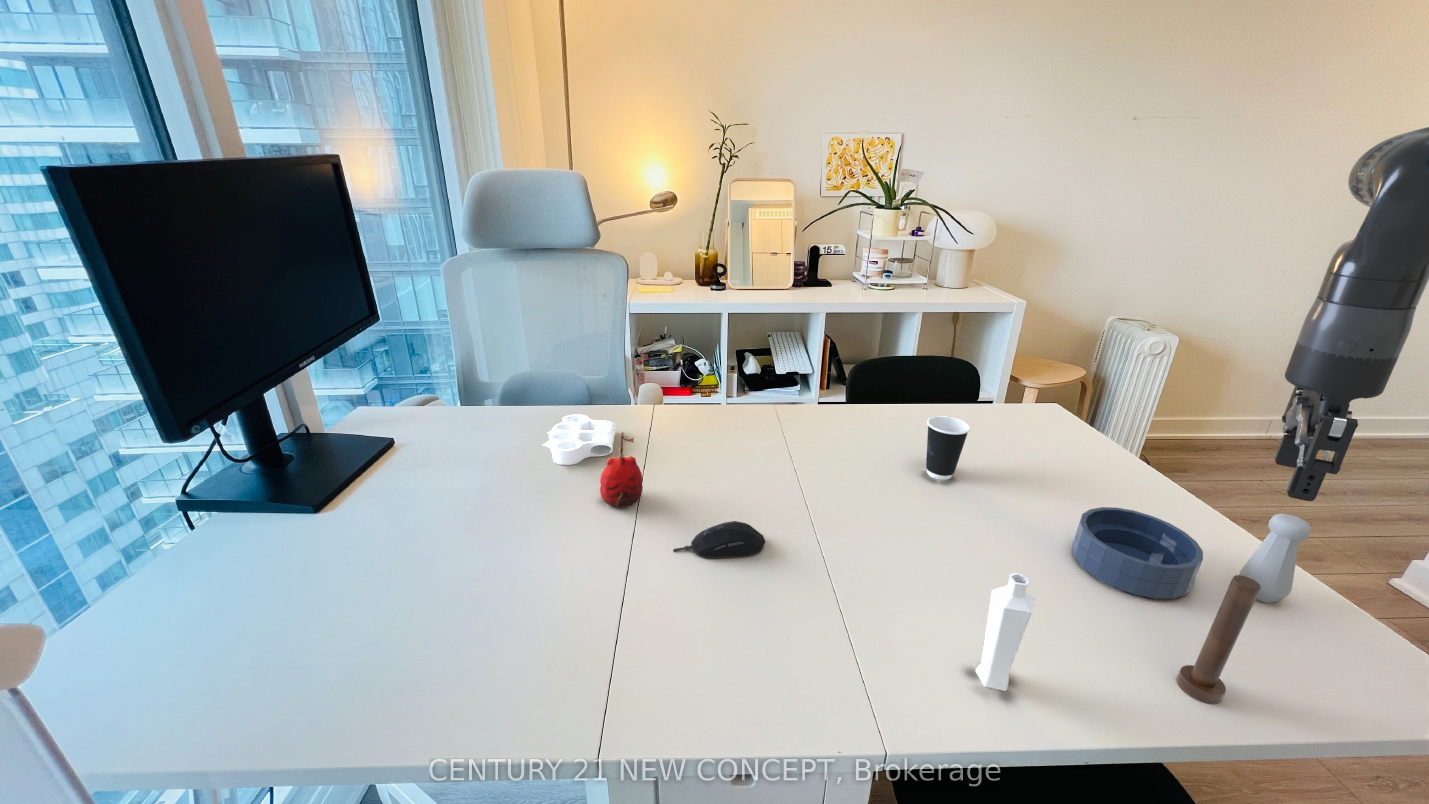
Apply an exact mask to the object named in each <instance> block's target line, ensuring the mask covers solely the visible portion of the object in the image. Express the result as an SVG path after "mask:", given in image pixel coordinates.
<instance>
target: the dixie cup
mask: <svg viewBox="0 0 1429 804" xmlns="http://www.w3.org/2000/svg"><path fill="white" fill-rule="evenodd" d="M926 424H927V441H926V460H925V468H926V474H927V475H928V476H929V477H931V478H933V479H936V480H942V481H945V480H946V481H947V480H950V479H951V478H952V477H953V475H954V474H955V472H956V469H957V466H958V463H959V460H960V457H961V455H962V451H963V449H964V445H965V442H966V439H967V436H968V433H969V432H970V431H971V425H970V424H969V423H967V422H966V421H965V420H962V419H960V418H957V417H952V416H947V415H936V416H931V417H929V418H928V419H927V420H926Z"/></svg>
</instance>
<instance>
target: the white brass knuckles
mask: <svg viewBox="0 0 1429 804" xmlns="http://www.w3.org/2000/svg"><path fill="white" fill-rule="evenodd" d="M561 420H562V421H560V422H559V423H557V424H555V425H554V426H553V427H552V428H551V430H550V431H547V434H548V439H549V440H547V442H545V443H543V444H542V446H543V447H546V448H549V449H550V453H551V454H552V461H553V463H555V464H557V465H559V466H573V465H576V464H577V465H578V464H579V463H581V462H582V461H583V460H584V459H587V458H596V457H597V458H598V457H604V456H607V455H610V454H611V453H613V446H614V441H615V436H616V430H617V424H616V423H615V422H613V421H610V420H604V419H591V418H590V417H589V416H587V415H585V414H581V413H579V414H578V413H575V414H569V415H566V416H563V417H562V419H561Z"/></svg>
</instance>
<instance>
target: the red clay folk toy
mask: <svg viewBox="0 0 1429 804" xmlns="http://www.w3.org/2000/svg"><path fill="white" fill-rule="evenodd" d="M616 434H617V436H618V437H619V445H620V447H619V448H618V452H619V456H614V457H613V456H612V457H609V458H608V459H607V461H606V465H605V467H604V469H603V470H602V471H601V475H600V480H599V483H600V486H599V493H600V496H601V499H602V500H603V502H605V503H606V504H607V505H609V506H611V507H613V508H618V509H624V508H628V507H630V506H633V505H635V504H636V503H637V502H638V501H639V500H640V499H641V498H642V494H643V490H644V489H643V488H644V486H643V474H642V471H641V469H640V467H639V465H638V464H637V459H636V457H634V456H633V455H630V456H624V454H623V453H624V447H623V446H624V442H630V443H635V440H634V439H635V438H634V437H631V438H625V436H624V432H620V434H619V433H618V432H617V433H616Z"/></svg>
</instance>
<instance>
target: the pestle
mask: <svg viewBox="0 0 1429 804" xmlns="http://www.w3.org/2000/svg"><path fill="white" fill-rule="evenodd" d="M1260 589H1261V586H1260V584H1259V583H1258V582H1256V581H1255V580H1253V579H1251V578H1248V577H1245V576H1241V575H1239V574H1238V575H1237V574H1236V575H1233V576H1232V579H1231V581H1230V583H1229V586H1228V588H1227V590H1226V592H1225V595H1224V597H1223V599H1222V601H1221V604H1220V606H1219V608H1218V611H1217V612H1216V615H1215V617H1214V619H1213V621H1212V624H1211V626H1210V628H1209V631H1208V633H1207V635H1206V638H1205V640H1204V643H1203V645H1202V647H1201V648H1200V651H1199V653H1198V656H1197V658H1196V661H1195V662H1194V665H1192V664H1187V665H1186V664H1185V665H1183V666H1182V667H1181V668H1180V669H1179V671H1178V672H1179V673H1178V674H1177V676H1176V683H1177V685H1178V686H1179V688H1180V689H1181V690H1182V691H1183V692H1184V693H1185V694H1186V695H1188V696H1189V697H1192V698H1193V699H1195V700H1197V701H1199V702H1201V703H1205V704H1211V705H1214V704H1215V705H1217V704H1218V703H1220V702H1221V701H1223V698H1224V696H1225V694H1226V691H1227V688H1226V687H1227V686H1226V685H1225V683H1224V682H1223V681H1222V680H1221V678H1220V677H1221V674H1222V673H1223V670H1224V668H1225V666H1226V664H1227V662H1228V661H1229V657H1230V655H1231V653H1232V651H1233V649H1234V647H1235V644H1236V642H1237V640H1238V638H1239V636H1240V634H1241V631H1242V630H1243V627H1244V625H1245V623H1246V621H1247V618H1248V617H1249V614H1250V613H1251V610H1252V608H1253V606H1254V604H1255V602H1256V600H1257V599H1256V597H1257V595H1258V593H1259V591H1260Z"/></svg>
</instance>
